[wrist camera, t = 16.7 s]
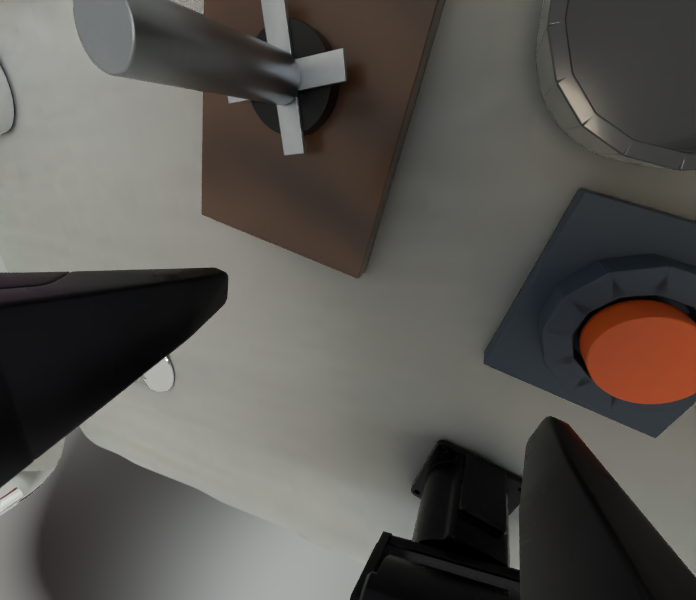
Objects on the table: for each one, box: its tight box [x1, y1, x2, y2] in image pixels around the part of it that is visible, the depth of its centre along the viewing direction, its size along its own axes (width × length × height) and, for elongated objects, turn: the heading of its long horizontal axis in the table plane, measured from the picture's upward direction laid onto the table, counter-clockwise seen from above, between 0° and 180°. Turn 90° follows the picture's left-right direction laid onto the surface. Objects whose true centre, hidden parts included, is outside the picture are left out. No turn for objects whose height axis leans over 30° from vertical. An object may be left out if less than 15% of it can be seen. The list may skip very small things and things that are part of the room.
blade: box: [73, 0, 347, 155], centre depth 13 cm, size 7×7×10 cm
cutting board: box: [202, 0, 445, 278], centre depth 17 cm, size 18×12×1 cm, turn 166°
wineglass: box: [0, 356, 174, 515], centre depth 27 cm, size 8×8×20 cm
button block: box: [484, 188, 696, 438], centre depth 15 cm, size 10×9×3 cm
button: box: [579, 299, 696, 404], centre depth 14 cm, size 4×4×2 cm
